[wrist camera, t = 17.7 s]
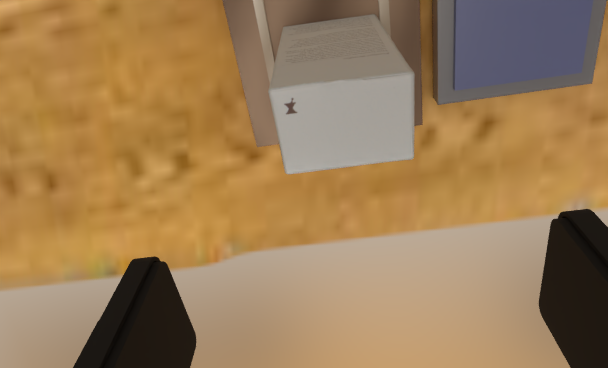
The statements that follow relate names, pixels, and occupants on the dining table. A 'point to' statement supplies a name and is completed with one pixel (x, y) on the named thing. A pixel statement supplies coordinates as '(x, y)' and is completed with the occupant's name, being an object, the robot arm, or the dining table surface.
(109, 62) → the dining table surface
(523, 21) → the ink pad
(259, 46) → the marked board
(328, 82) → the skincare box
